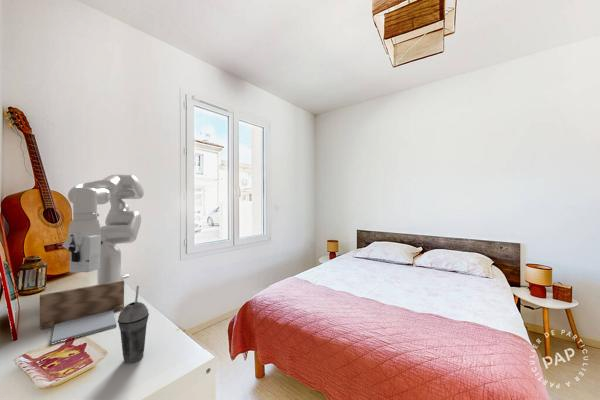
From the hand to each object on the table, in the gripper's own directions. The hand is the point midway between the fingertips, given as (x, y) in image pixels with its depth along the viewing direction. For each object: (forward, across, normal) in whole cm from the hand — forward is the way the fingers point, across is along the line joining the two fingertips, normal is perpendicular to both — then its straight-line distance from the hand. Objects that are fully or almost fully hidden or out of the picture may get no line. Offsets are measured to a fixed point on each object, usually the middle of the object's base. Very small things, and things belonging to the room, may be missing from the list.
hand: (85, 259), depth 101 cm
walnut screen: (+20, +7, +9) cm, 23 cm away
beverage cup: (+19, +24, +50) cm, 58 cm away
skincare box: (+5, 0, 0) cm, 5 cm away
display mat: (+20, +13, +18) cm, 30 cm away
